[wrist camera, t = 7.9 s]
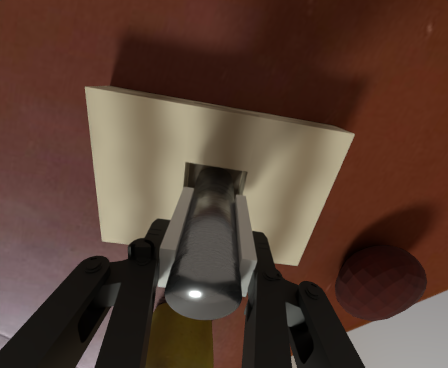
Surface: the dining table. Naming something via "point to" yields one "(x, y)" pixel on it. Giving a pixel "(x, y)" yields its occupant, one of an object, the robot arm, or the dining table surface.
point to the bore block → (209, 163)
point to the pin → (207, 252)
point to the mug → (179, 341)
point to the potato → (380, 282)
